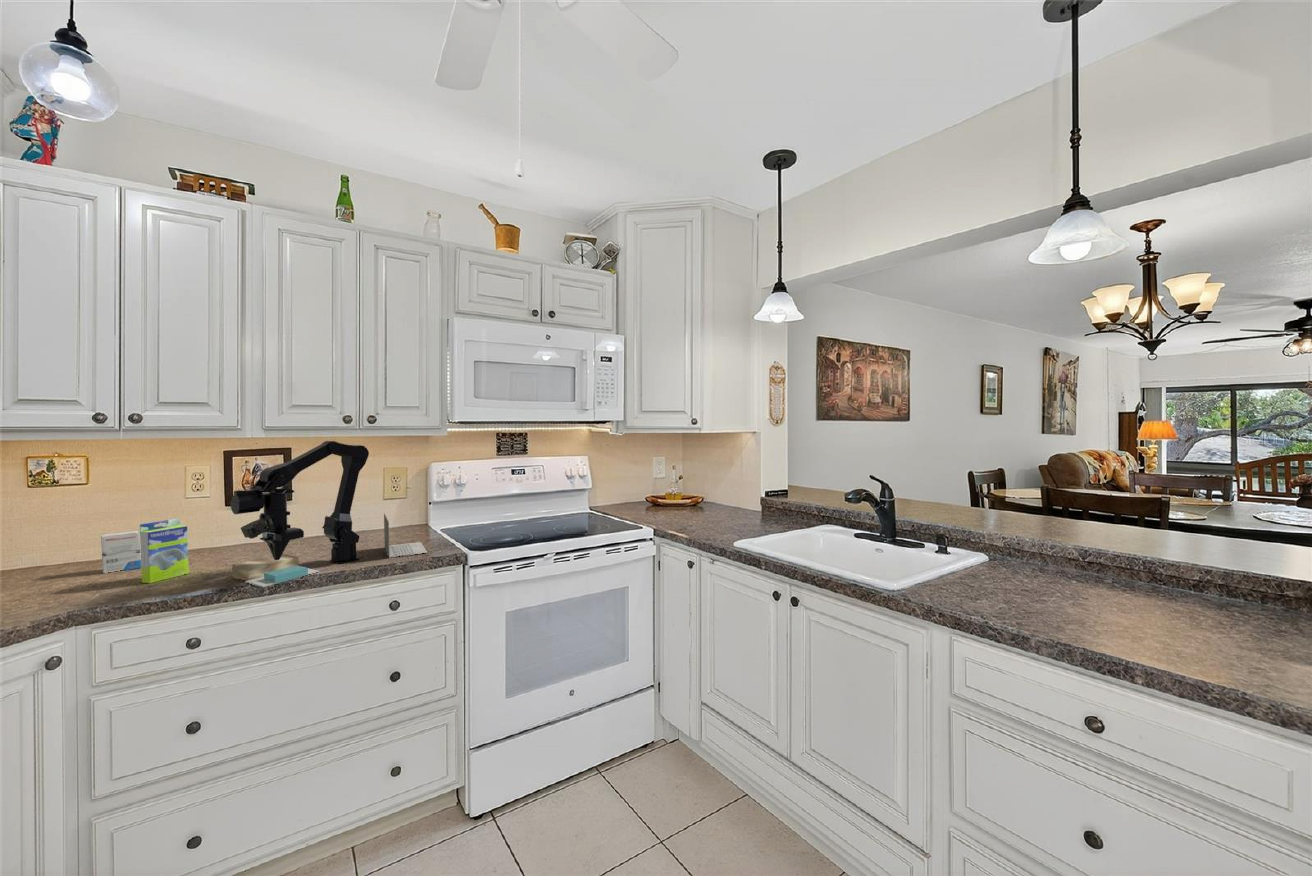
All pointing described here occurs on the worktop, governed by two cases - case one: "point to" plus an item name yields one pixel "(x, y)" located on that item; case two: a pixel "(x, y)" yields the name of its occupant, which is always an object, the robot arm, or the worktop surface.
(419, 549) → the laptop
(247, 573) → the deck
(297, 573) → the teal rectangular block
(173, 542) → the box
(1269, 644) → the worktop surface
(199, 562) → the worktop surface
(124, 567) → the ink box
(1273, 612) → the worktop surface
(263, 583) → the mat
